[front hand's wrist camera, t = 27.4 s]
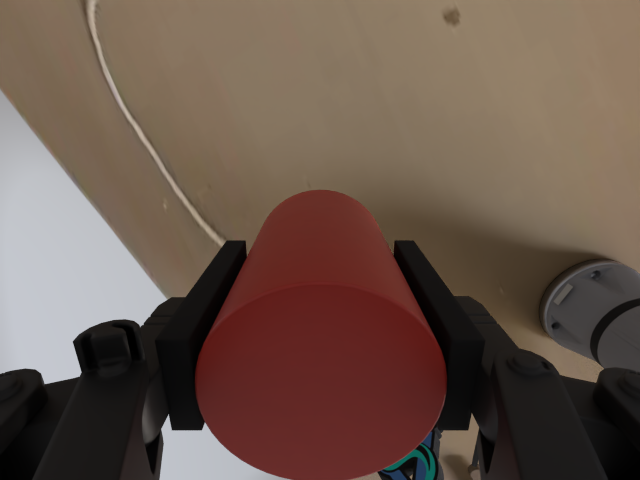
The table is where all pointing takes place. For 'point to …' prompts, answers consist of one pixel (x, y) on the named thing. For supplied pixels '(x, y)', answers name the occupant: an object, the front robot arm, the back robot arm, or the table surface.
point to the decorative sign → (418, 461)
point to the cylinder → (320, 349)
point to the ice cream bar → (474, 472)
